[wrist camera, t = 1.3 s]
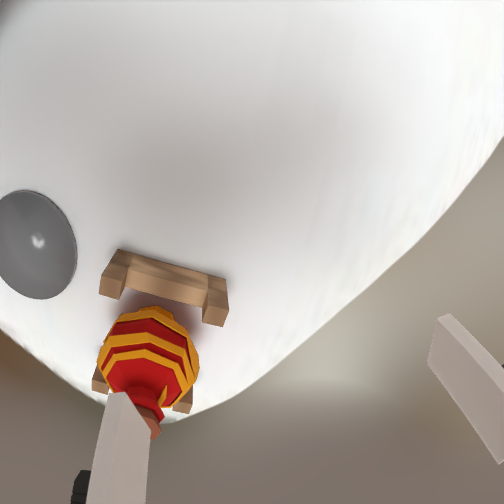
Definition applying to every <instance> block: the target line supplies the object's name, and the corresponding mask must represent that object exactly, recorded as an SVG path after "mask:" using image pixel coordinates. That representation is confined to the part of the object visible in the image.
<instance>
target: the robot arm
mask: <svg viewBox="0 0 504 504" xmlns="http://www.w3.org/2000/svg"><path fill="white" fill-rule="evenodd" d="M427 364H428V366H429V367H430V368H431V370H432V371H433V372H434V374H435V375H436V376H437V378H438V379H439V380H440V382H441V383H442V384H443V385H444V387H445V388H446V390H447V391H448V392H449V394H450V395H451V396H452V398H453V399H454V401H455V402H456V403H457V405H458V406H459V407H460V409H461V410H462V411H463V413H464V414H465V416H466V417H467V419H468V420H469V422H470V423H471V424H472V426H473V427H474V429H475V430H476V432H477V433H478V435H479V436H480V438H481V439H482V441H483V442H484V444H485V445H486V446H487V448H488V449H489V451H490V453H491V454H492V456H493V457H494V459H495V460H496V462H497V463H498V465H499V464H500V463H502V462H503V461H504V365H502V366H500V364H499V363H498V362H497V361H496V360H495V359H494V358H493V357H492V356H491V355H490V354H489V353H488V352H487V351H486V349H485V348H484V347H483V346H482V345H481V344H480V343H479V342H478V341H477V340H476V339H475V338H474V337H473V336H472V335H471V334H470V333H469V332H468V331H467V330H466V329H465V328H464V327H463V326H462V325H461V324H460V323H459V322H458V321H457V320H456V319H455V318H454V317H453V316H452V315H451V314H450V313H448V314H446V315H444V316H441V317H439V318H436V323H435V328H434V334H433V338H432V342H431V347H430V351H429V355H428V360H427ZM150 435H151V429H150V428H149V427H148V425H147V424H146V422H145V421H144V419H143V418H142V416H141V415H140V414H139V412H138V411H137V409H136V408H135V406H134V405H133V403H132V401H131V400H130V398H129V397H128V395H127V394H126V392H119V393H109V396H108V400H107V404H106V408H105V412H104V416H103V420H102V424H101V428H100V433H99V437H98V442H97V447H96V451H95V456H94V461H93V466H92V471H88V470H81V471H80V473H79V474H78V476H77V477H76V479H75V481H74V486H73V491H72V492H73V494H72V496H71V504H145V499H146V482H147V469H148V456H149V445H150Z"/></svg>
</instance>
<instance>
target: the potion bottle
mask: <svg viewBox="0 0 504 504" xmlns="http://www.w3.org/2000/svg"><path fill="white" fill-rule="evenodd" d="M103 343H104V345H103V346H102V347H101V349H100V352H99V355H98V358H97V364H98V367H99V369H100V371H101V373H102V375H103V377H104V378H105V380H106V382H107V384H108V385H109V387H110V389H111V391H112V392H113V393H119V392H126V394H127V395H128V397H129V398H130V400H131V401H132V403H133V405H134V406H135V408H136V409H137V411H138V412H139V414H140V415H141V416H142V418H143V419H144V421H145V422H146V424H147V425H148V427H149V428H150V429H151V435H150V439H155V438H156V437H157V436H158V435H159V434H160V432H161V428H160V425H159V423H160V422H161V421H162V420H163V418H164V417H165V416H164V414H163V412H162V410H161V408H171V407H172V406H173V405H174V404H176V403H177V402H178V401H179V400H180V399H181V398H182V397H183V396H184V395H185V394H186V393H187V392H188V390H189V389H190V388H191V386H192V385H193V384H194V383H195V381H196V379H197V375H198V372H199V368H200V367H199V357H198V353H197V351H196V349H195V347H194V345H193V343H192V341H191V338H190V336H189V334H188V332H187V329H185V328H184V327H182V326H181V325H179V324H178V323H177V322H175V319H174V317H173V314H172V313H171V312H169V311H167V310H165V309H163V308H161V307H159V306H157V305H155V306H150V307H145V308H140V309H139V311H138V312H132V313H124V314H121V315H120V316H119V318H118V319H117V320H116V321H115V323H114V324H113V326H112V328H111V329H110V331H109V333H108V335H107V336H106V338H105V340H104V341H103Z"/></svg>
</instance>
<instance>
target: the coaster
mask: <svg viewBox="0 0 504 504" xmlns="http://www.w3.org/2000/svg"><path fill="white" fill-rule="evenodd" d="M76 264H77V247H76V241H75V238H74V234H73V231H72V229H71V226H70V225H69V223H68V221H67V219H66V217H65V216H64V214H63V213H62V212H61V210H60V209H59V208H58V207H57V206H56V205H55V204H54V203H53V202H52V201H50V200H49V199H48V198H46V197H44V196H43V195H41V194H38V193H36V192H32V191H17V192H14V193H11V194H9V195H7V196H6V197H4V198H2V199H1V200H0V276H1V278H2V279H3V280H4V281H5V282H6V283H7V284H8V285H9V286H10V287H11V288H12V289H14V290H15V291H17V292H18V293H20V294H22V295H24V296H26V297H29V298H33V299H48V298H52V297H54V296H56V295H58V294H59V293H61V292H62V291H63V290H64V289H65V288H66V287H67V285H68V284H69V282H70V281H71V279H72V277H73V275H74V272H75V269H76Z"/></svg>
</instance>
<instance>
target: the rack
mask: <svg viewBox="0 0 504 504" xmlns="http://www.w3.org/2000/svg"><path fill="white" fill-rule="evenodd" d="M124 287H128V288H131V289H134V290H138V291H141V292H145V293H148V294H152V295H156V296H159V297H163V298H167V299H170V300H174V301H178V302H182V303H185V304H189V305H193V306H197V307H201V308H202V322H203V323H207V324H211V325H215V326H220V327H223V325H224V322H225V320H226V317H227V315H228V312H229V305H228V296H227V288H226V279H222V278H218V277H214V276H211V275H207V274H203V273H200V272H196V271H192V270H189V269H185V268H182V267H178V266H174V265H171V264H167V263H164V262H160V261H157V260H153V259H150V258H146V257H143V256H139V255H136V254H133V253H129V252H126V251H122V250H119V249H118V250H117V251H116V253H115V254H114V256H113V257H112V259H111V261H110V262H109V264H108V265H107V267H106V269H105V270H104V272H103V273H102V275H101V281H100V289H99V294H101V295H104V296H107V297H110V298H114V299H117V300H119V299H120V296H121V294H122V292H123V289H124ZM92 390H93V391H96V392H100V393H103V394H106V395H108V391H109V385H108V384H107V382H106V380H105V378H104V377H103V375H102V373H101V371H100V369H99V367H98V364H97V366H96V369H95V372H94V375H93V378H92ZM192 404H193V385H192V386H191V388H190V389H189V390H188V392H187V393H186V394H185V395H184V396H183V397H182V398H181V399H180V400H179V401H178V402H177V403H176V404H174V405H173V411H176V412H181V413H187V414H189V412H190V410H191V407H192Z"/></svg>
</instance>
